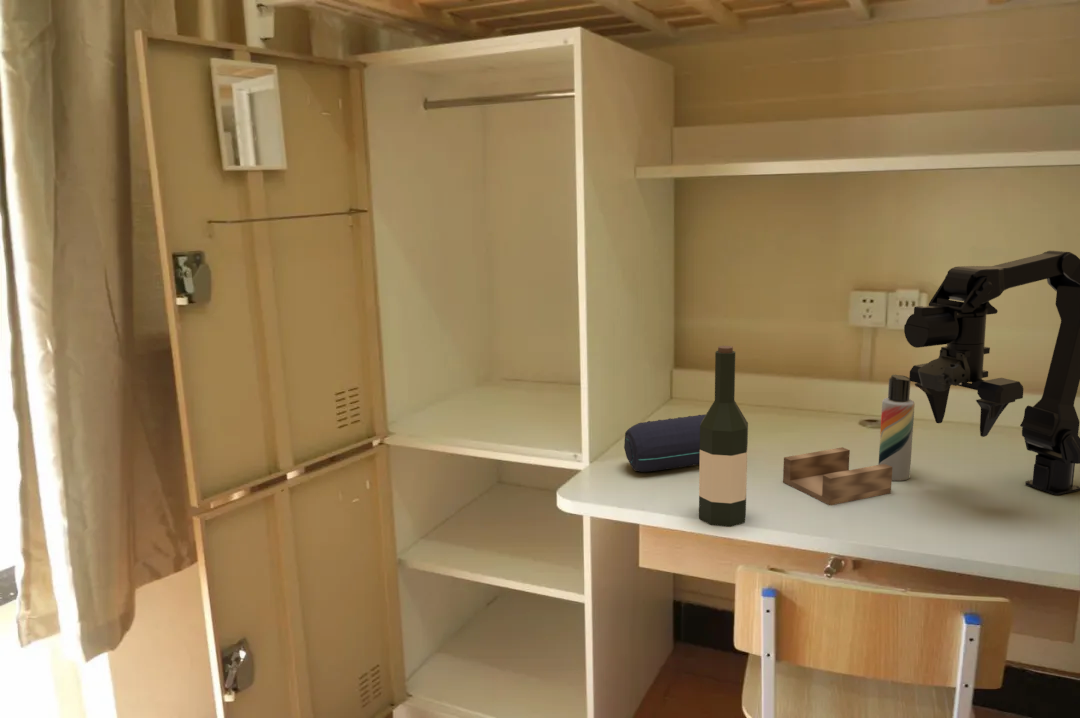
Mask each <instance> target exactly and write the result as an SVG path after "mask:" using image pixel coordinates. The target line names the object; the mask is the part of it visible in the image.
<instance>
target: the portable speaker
mask: <svg viewBox="0 0 1080 718" xmlns="http://www.w3.org/2000/svg"><path fill="white" fill-rule="evenodd" d="M706 414H707V413H706ZM706 414H698V415H689V416H683V417H676V418H675V417H674V418H667V419H658V420H653V421H650V420H648V421H644V422H639V423H636V424H634V425H632V426H631V427H629V428H628V429H627V430H626V431H625V432H624V443H623V444H624V445H623V448H624V452H625V456H626V459H627V461H628V462H629V465H630V466H631V468H632V469H633V470H634V471H636V472H641V473H643V472H644V473H651V472H656V471H657V472H658V471H663V470H670V469H671V470H672V469H677V468H683V467H690V466H697V465H700V425H701V422H702V420H703V418H704V417H705V415H706Z"/></svg>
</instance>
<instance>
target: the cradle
mask: <svg viewBox="0 0 1080 718" xmlns="http://www.w3.org/2000/svg"><path fill="white" fill-rule="evenodd" d="M850 452H851V450H850V449H848V448H845V447H843V446H842V447H835V448H831V449H826V450H825V449H824V450H819V451H814V452H812V451H811V452H808V453H807V452H806V453H802V454H801V453H800V454H796V455H789V456H784V457H783V470H782V471H783V473H782V479H783V480H782V482H783V483H784V484H786V485H788V486H790V487H792V488H794V489H796V490H798V491H800V492H802V493H804V494H806V495H808V496H809V497H812V498H814V499H816V500H818V501H820V502H822V503H824V504H826V505H828V506H832V505H839V504H843V503H848V502H853V501H857V500H863V499H867V498H873V497H878V496H883V495H887V494H891V493H892V482H893V480H892V467H891V466H889V465H886V464H880V465H879V464H875V465H871V466H865V467H864V466H863V467H860V468H855V469H850Z"/></svg>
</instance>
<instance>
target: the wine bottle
mask: <svg viewBox="0 0 1080 718" xmlns="http://www.w3.org/2000/svg"><path fill="white" fill-rule="evenodd" d="M717 348H718V349H717V350H716V351H715V352H714V354H715V357H714V361H715V363H714V366H715V367H714V369H715V370H714V401H713V402H712V404H711V406H710V407H709V409H708V410H707V412H706V415H705V417H704V418H703V420H702V422H701V425H700V464H699V473H698V475H699V476H698V477H699V482H698V483H699V485H698V486H699V487H698V491H699V492H698V519H699V520H700V521H703V522H704V523H706V524H708V525H709V526H719V527H729V528H730V527H736V526H739V525H742V524H745V523H746V519H747V518H746V516H747V484H748V483H747V481H748V480H747V479H748V443H749V442H748V441H749V440H748V438H749V436H748V435H749V423H748V420H747V418H746V416H745V415H744V414H743V412H742V410H741V408H740V407H739V405H738V404H737V402H736V400H735V390H736V389H735V387H736V385H735V384H736V351H735V350H734V348H733V346H731V345H719V346H717Z"/></svg>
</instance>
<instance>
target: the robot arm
mask: <svg viewBox="0 0 1080 718" xmlns="http://www.w3.org/2000/svg"><path fill="white" fill-rule="evenodd" d="M1043 280H1046V282H1047V284H1048V285H1049V286H1050V287H1051V289H1053V290H1054V291H1055V292H1056V296H1055V308H1056V310H1057V313H1058V315H1059V317H1060V318H1059V319H1060V324H1059V327H1058V332H1057V336H1056V339H1055V343H1054V344H1055V345H1054V348H1053V352H1052V357H1051V361H1050V364H1049V368H1048V372H1047V376H1046V380H1045V384H1044V388H1043V392H1042V396H1041V398H1040V399H1039V401H1037V402H1036V403H1034V405H1033V406H1032V405H1027V406H1026V407H1025V409H1024V413H1023V414H1024V415H1023V419H1022V421H1021V423H1020V426H1019V427H1021V429H1022V430H1021V436H1022V437H1023V438H1024V444H1025V448H1026V450H1027V451H1029V452H1033V453H1036V455H1035V458H1034V459H1035V460H1034V464H1033V472H1032V479H1030V480H1026V481H1025V483H1024V484H1025V485H1026V486H1029V487H1032V488H1035V489H1037V490H1040V491H1043V492H1047V493H1049V494H1052V495H1054V496H1059V495H1065V494H1068V493H1073V492H1078V491H1080V486H1078V485H1075V484H1074V476H1075V468H1076V467H1075V466H1076V464H1079V465H1080V436H1079V430H1080V419H1079V415H1078V414H1077V410H1076V407H1075V400H1076V398H1077V397H1076V396H1077V393H1078V388H1079V385H1080V257H1079V256H1077V255H1076V254H1074V253H1072V252H1071V251H1061V250H1047V251H1045V252H1042V253H1039V254H1036V255H1032V256H1027V257H1023V258H1019V259H1016V260H1011V261H1008V262H1004V263H999V264H994V265H964V266H961V265H960V266H954V267H952V268H950V269H949V270H948V271H947V274H946V275H945V278H944V279H943V280H942V282H941V284H940V285H939V287H938V288H937V289H936V291H935V294H934V295H933V296H932V298H931V299H930V301H929V303H928V306H923V305H918V306H917V305H916V306H914V307H913V313H912V314H910V315H909V316H908V317H907V319H906V322H905V324H904V326H903V328H904V329H903V330H904V331H903V332H904V336H905V340H906V341H907V343H908V344H909V345H910V346H911V347H913V348H928V347H935V346H942V347H941V348H940V350H939V355H938V358H937V357H936V358H935V359H932V360H931V361H929V362H926V363H921V364H920V363H919V364H915V365H914V364H913V366H912V367H911V368H910V370H909V377H908V378H909V381H911V382H912V383H914V386H915V387H916V388H919V389H920V390H921V391H922V392H923V393H924V394H925V396H926V398H927V400H928V402H929V405H930V409H931V412H932V415H933V417H934V420H935V423H936V424H942V423H943V421H944V417H945V415H946V410H947V404H948V399H949V393H950V390H951V386H955V387H957V386H958V387H963V388H967V389H971V390H974V391H977V394H976V395H978V397H979V399H975V402H976V403H977V405H978V406H979V408H980V415H979V416H980V418H979V423H980V424H979V433H980V437H981V438H983V437H987V436H988V435H989V433H990V432H991V430H992V428H993V427H994V425H995V424H996V421H998V419H999V417H1000V416H1001V414H1002V412H1003V411H1004V410H1005V409H1006V408H1007V406H1008V405H1009V404H1012V403H1015V402H1016V400H1022V399H1024V386H1023V384H1022V383H1021V382H1020V381H1018V380H1013V379H1010V378H1006V377H998V378H992V379H987V380H986V379H985V380H984V379H983V378H989V370H984V359H985V356H984V355H987V354H990V353H991V352H990V351H991V347H988V346H985V342H986V325H987V316H988V315H993V314H994V315H995V314H996V315H997V314H998V309H997V308H996V307H995V306H993V305H992V304H991V303H990V301H992V300H994V299H997V298H999V297H1000V296H1001V295H1002V294H1003V292H1004V291H1006V290H1009V289H1011V288H1016V287H1019V286H1024V285H1028V284H1031V283H1035V282H1039V281H1043ZM944 345H945V346H944Z"/></svg>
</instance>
